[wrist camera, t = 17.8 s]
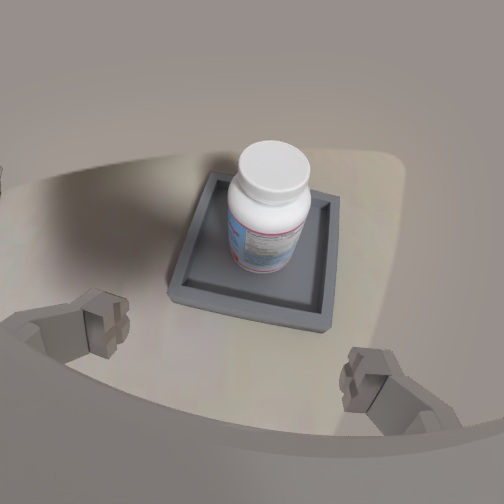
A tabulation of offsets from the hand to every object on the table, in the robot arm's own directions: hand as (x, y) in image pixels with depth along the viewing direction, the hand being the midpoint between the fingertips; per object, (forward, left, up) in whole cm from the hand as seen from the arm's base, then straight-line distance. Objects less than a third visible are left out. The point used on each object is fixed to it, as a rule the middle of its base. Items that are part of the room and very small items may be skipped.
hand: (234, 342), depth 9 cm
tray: (0, +12, -15) cm, 19 cm away
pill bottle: (0, +12, -14) cm, 18 cm away
